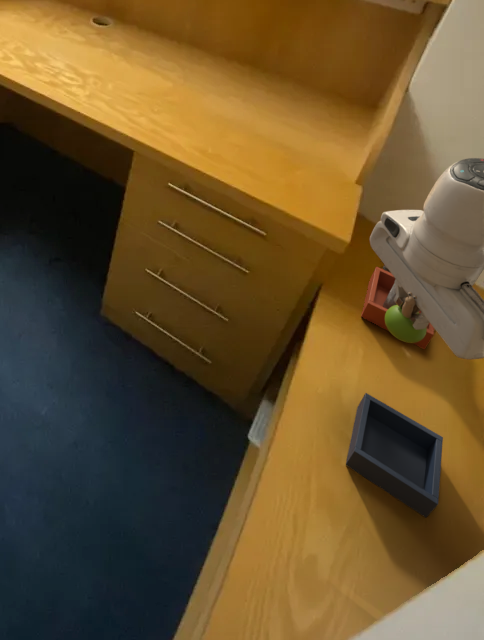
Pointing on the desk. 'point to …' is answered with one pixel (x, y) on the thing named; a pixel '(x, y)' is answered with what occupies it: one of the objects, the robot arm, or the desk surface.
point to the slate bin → (396, 454)
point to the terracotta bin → (376, 297)
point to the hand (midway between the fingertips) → (408, 314)
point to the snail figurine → (404, 321)
